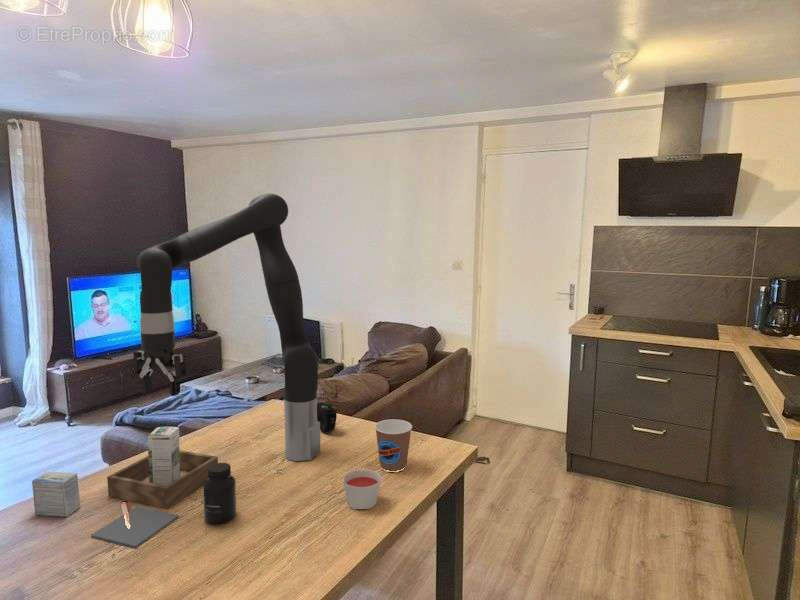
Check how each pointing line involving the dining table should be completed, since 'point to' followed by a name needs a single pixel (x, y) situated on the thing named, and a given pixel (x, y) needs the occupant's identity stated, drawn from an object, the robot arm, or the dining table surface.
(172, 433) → the syrup box
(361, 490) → the candle
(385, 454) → the coffee cup
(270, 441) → the dining table surface
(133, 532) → the mat
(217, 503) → the supplement bottle
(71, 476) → the medicine box
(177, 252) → the robot arm
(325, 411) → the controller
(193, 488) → the walnut crate
